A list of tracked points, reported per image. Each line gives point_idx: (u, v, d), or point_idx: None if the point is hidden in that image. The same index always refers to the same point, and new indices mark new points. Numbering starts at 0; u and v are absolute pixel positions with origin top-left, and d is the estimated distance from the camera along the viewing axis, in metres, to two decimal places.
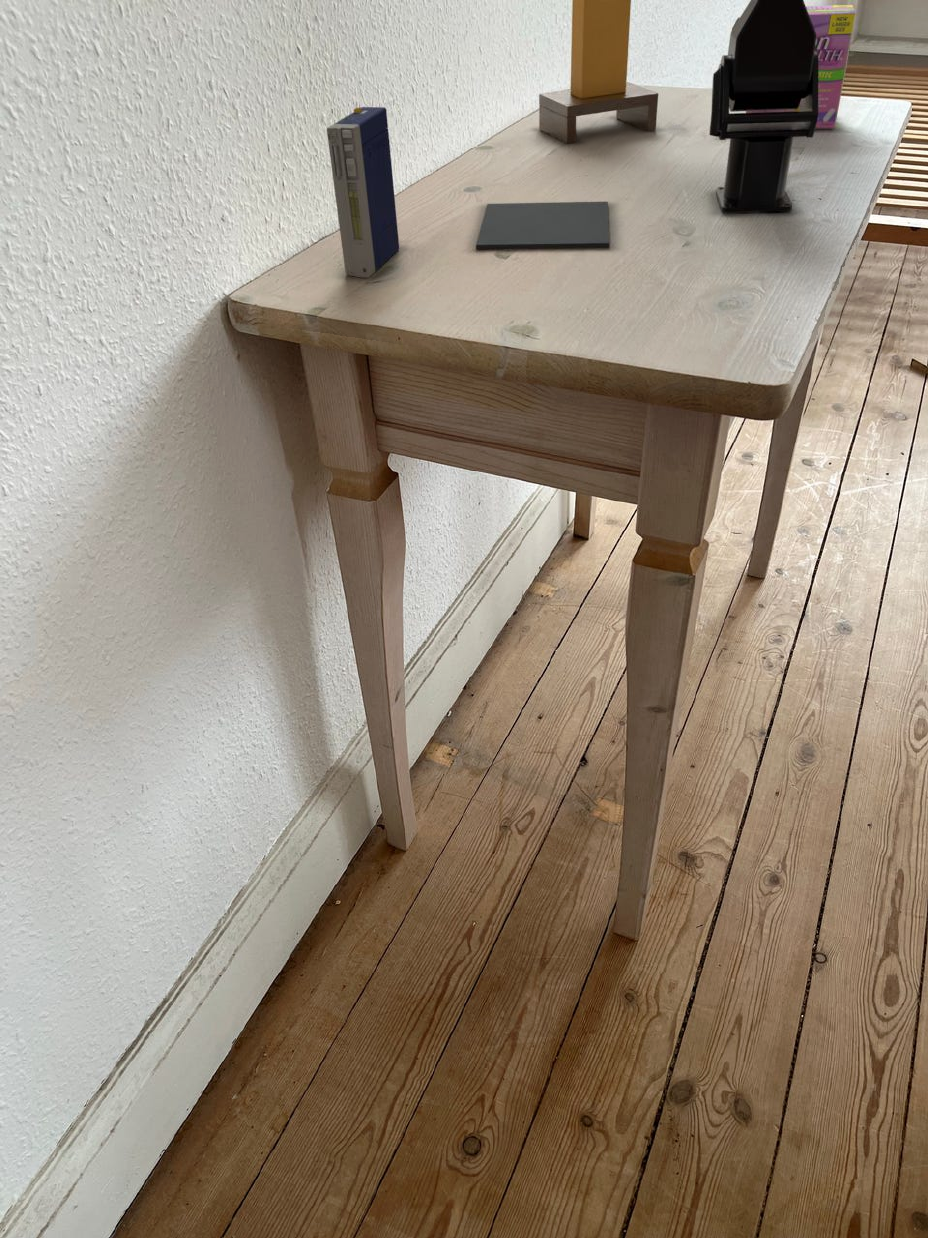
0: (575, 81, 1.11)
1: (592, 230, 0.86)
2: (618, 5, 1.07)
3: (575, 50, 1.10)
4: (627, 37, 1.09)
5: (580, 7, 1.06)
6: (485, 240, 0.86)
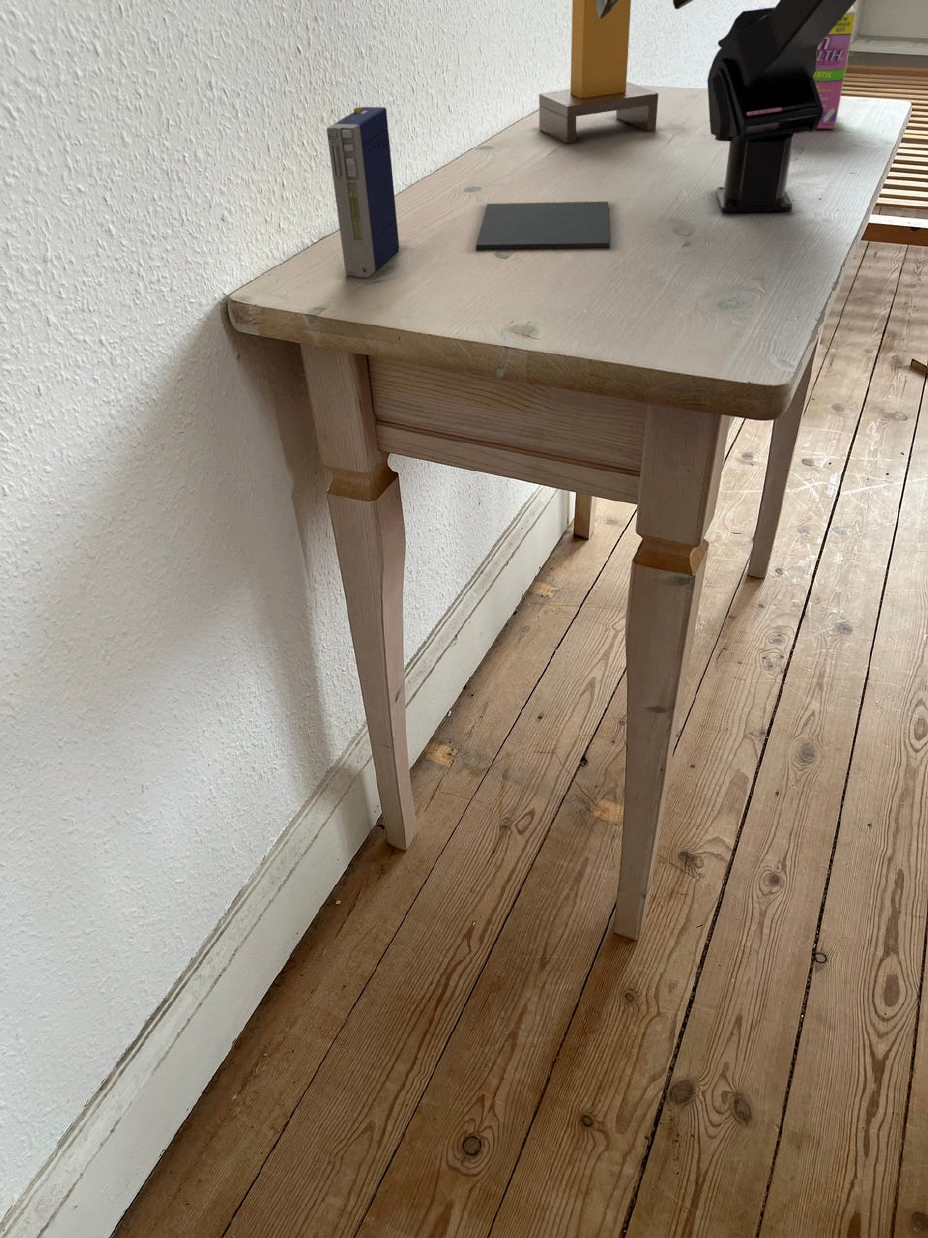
0: (575, 81, 1.11)
1: (592, 230, 0.86)
2: (618, 5, 1.07)
3: (575, 50, 1.10)
4: (627, 37, 1.09)
5: (580, 7, 1.06)
6: (485, 240, 0.86)
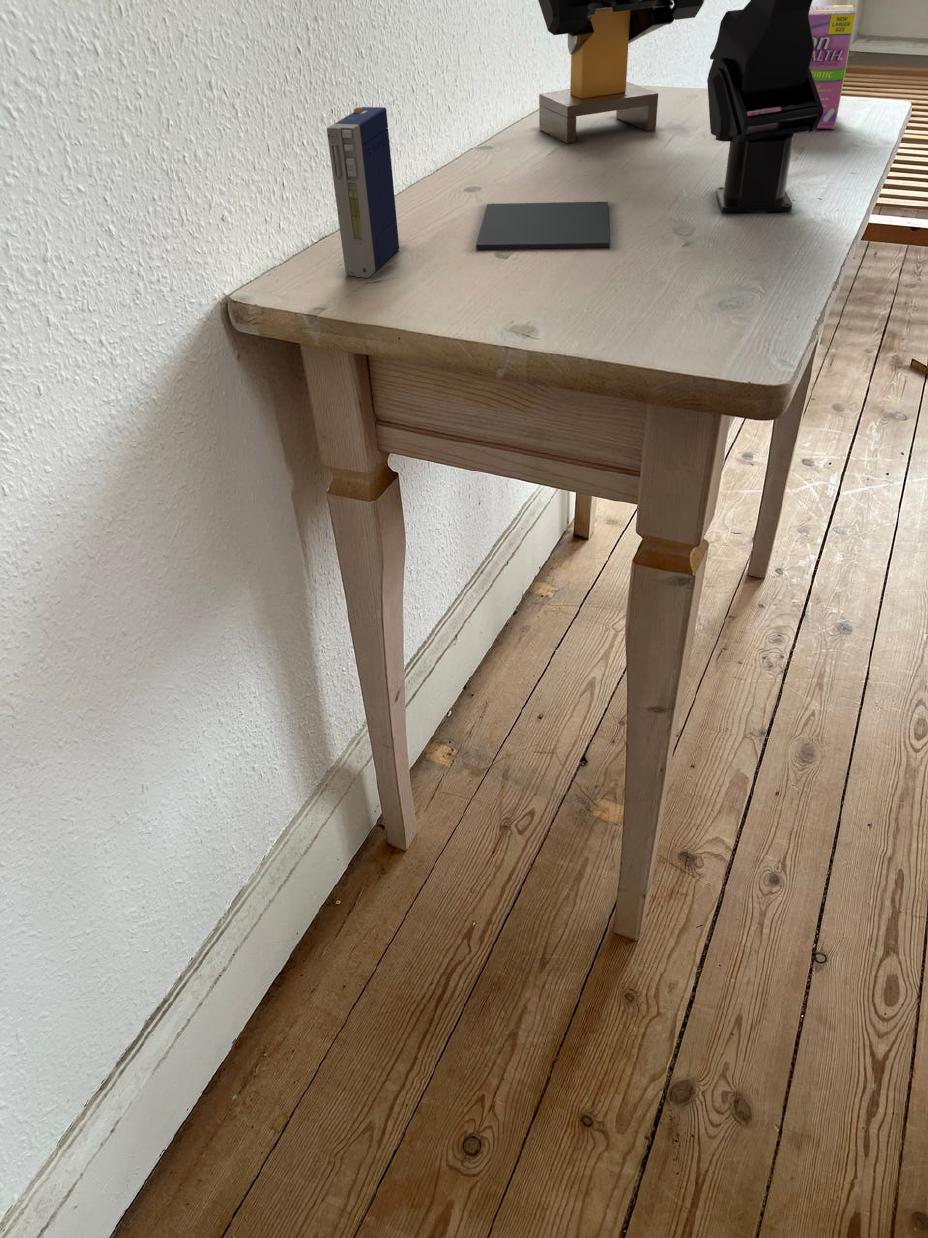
0: (575, 81, 1.11)
1: (592, 230, 0.86)
2: None
3: None
4: (627, 37, 1.09)
5: None
6: (485, 240, 0.86)
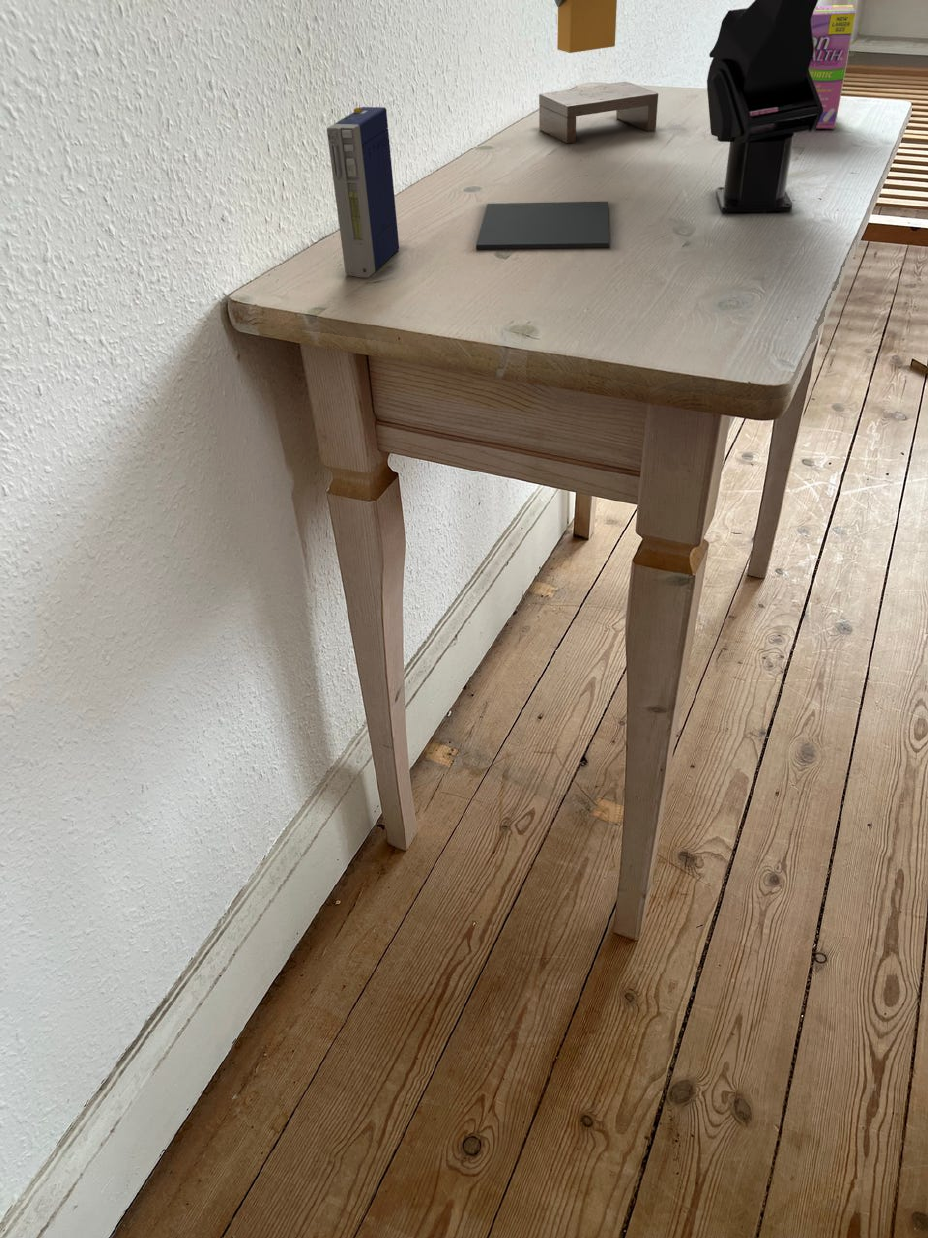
0: (563, 34, 1.07)
1: (592, 230, 0.86)
2: None
3: None
4: None
5: None
6: (485, 240, 0.86)
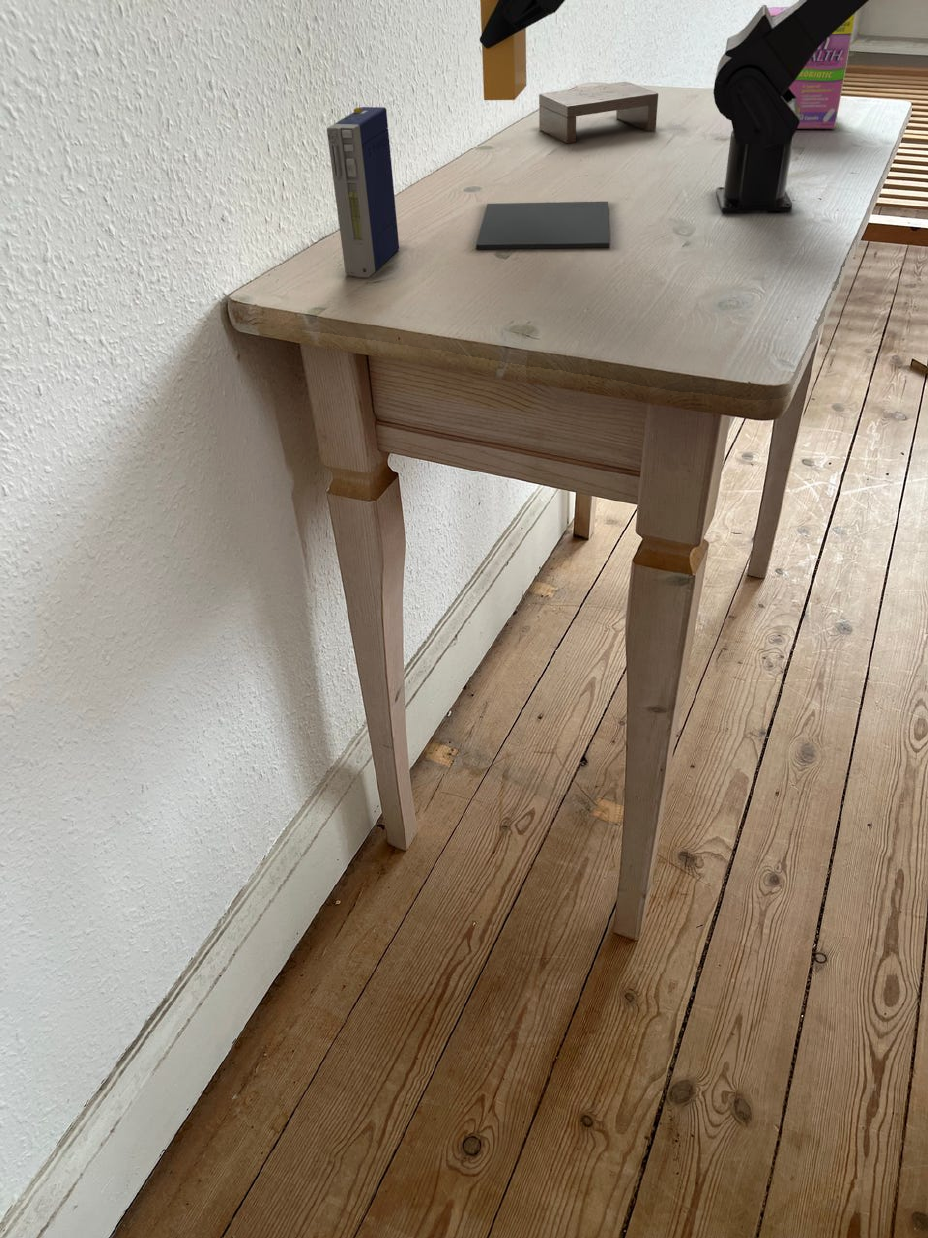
0: (497, 80, 0.87)
1: (592, 230, 0.86)
2: None
3: None
4: None
5: None
6: (485, 240, 0.86)
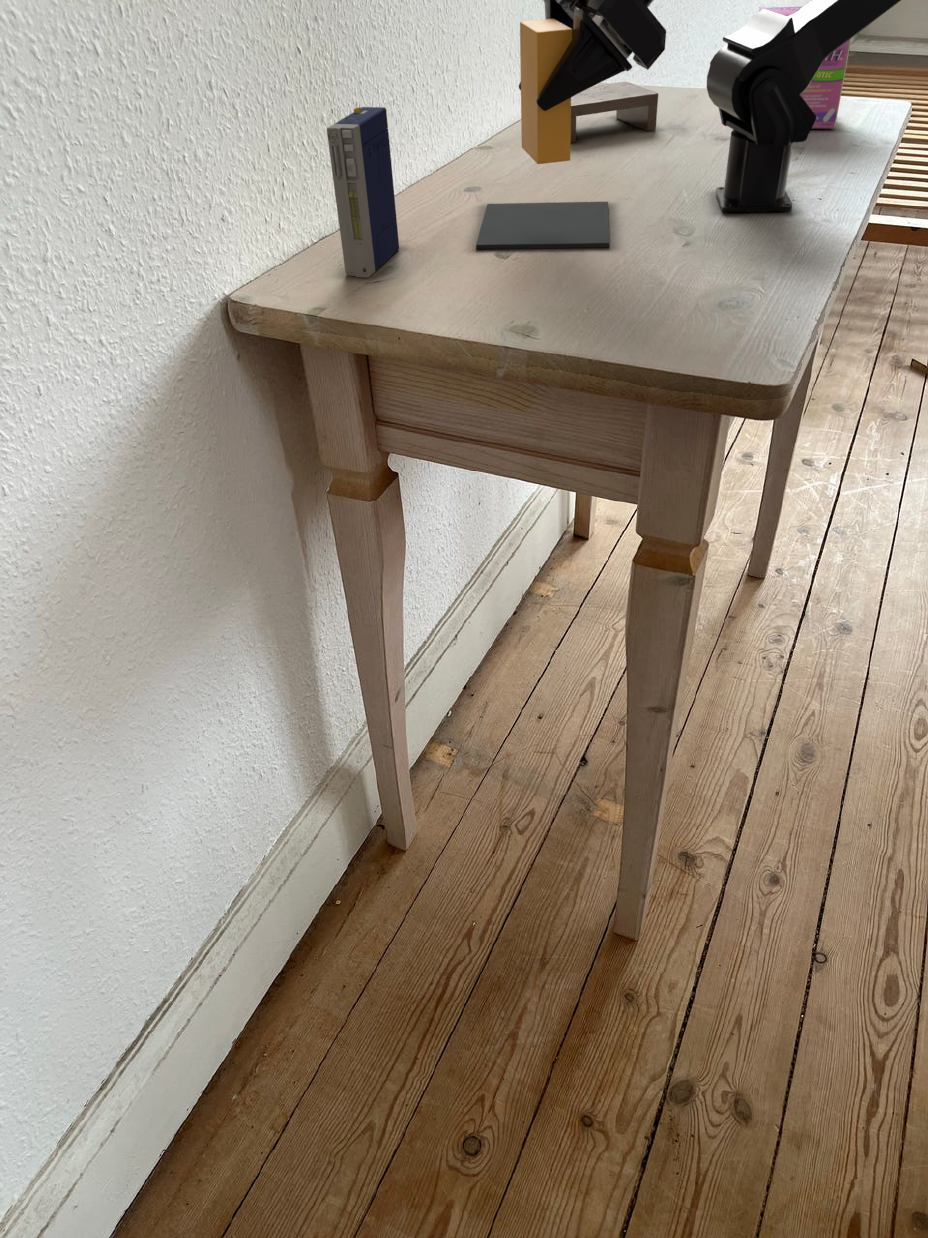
0: (552, 142, 0.82)
1: (592, 230, 0.86)
2: None
3: None
4: None
5: (562, 42, 0.77)
6: (485, 240, 0.86)
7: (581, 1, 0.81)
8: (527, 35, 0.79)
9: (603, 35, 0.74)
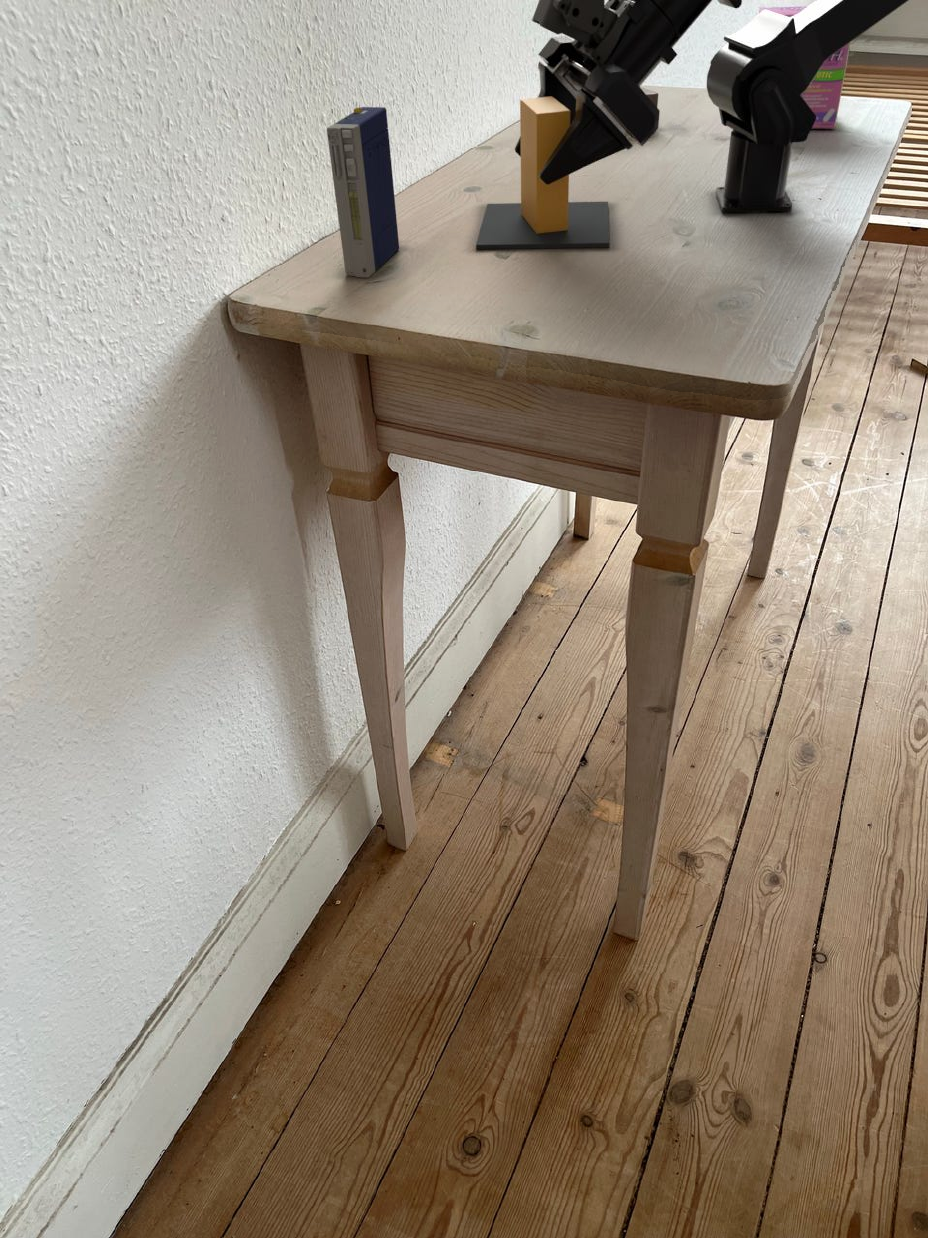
0: (551, 214, 0.85)
1: (592, 230, 0.86)
2: None
3: None
4: None
5: (560, 123, 0.81)
6: (485, 240, 0.86)
7: (579, 73, 0.85)
8: (527, 114, 0.83)
9: (605, 117, 0.76)
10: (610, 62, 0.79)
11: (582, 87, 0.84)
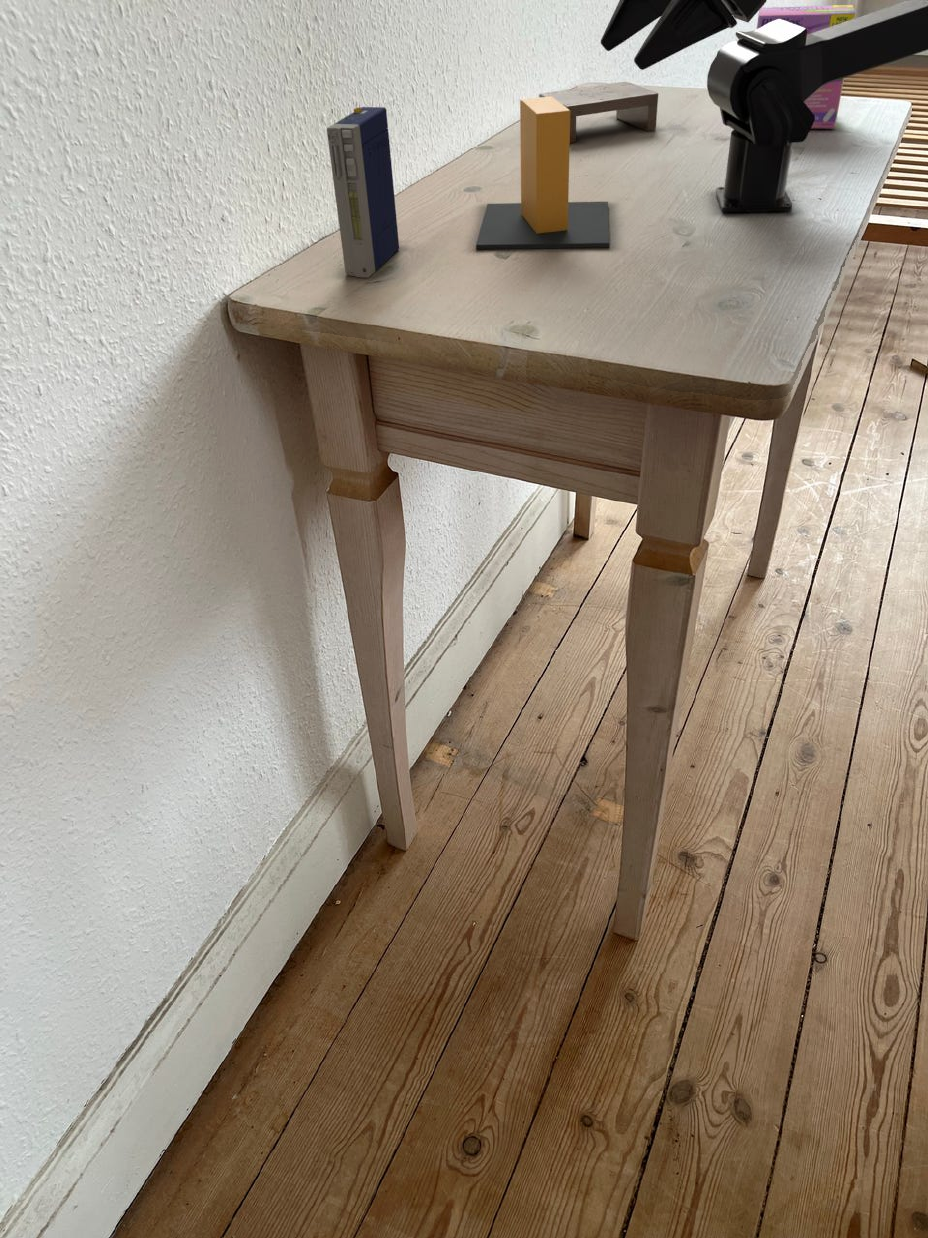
0: (551, 214, 0.85)
1: (592, 230, 0.86)
2: None
3: (549, 178, 0.83)
4: None
5: (560, 123, 0.81)
6: (485, 240, 0.86)
7: None
8: (527, 114, 0.83)
9: None
10: None
11: None
